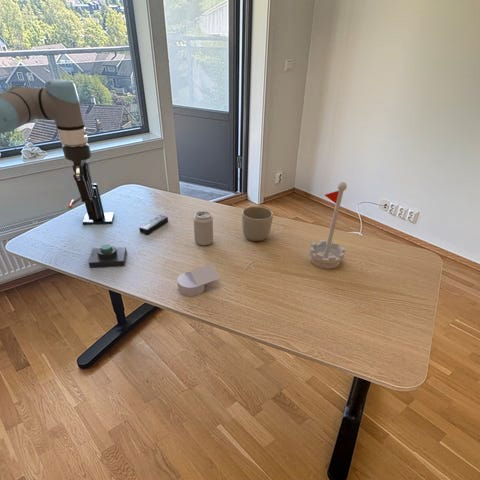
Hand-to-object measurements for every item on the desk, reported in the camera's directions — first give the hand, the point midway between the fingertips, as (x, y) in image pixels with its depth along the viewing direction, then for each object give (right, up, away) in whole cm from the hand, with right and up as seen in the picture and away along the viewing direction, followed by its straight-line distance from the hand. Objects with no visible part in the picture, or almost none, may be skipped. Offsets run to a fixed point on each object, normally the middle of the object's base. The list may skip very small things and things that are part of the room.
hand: (93, 218), depth 117 cm
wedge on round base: (+35, -23, 0) cm, 42 cm away
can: (+35, -3, +23) cm, 42 cm away
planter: (+56, 0, +28) cm, 63 cm away
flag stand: (+83, -12, +16) cm, 85 cm away
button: (+1, -9, +8) cm, 12 cm away
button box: (+1, -12, +10) cm, 16 cm away
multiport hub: (+13, +5, +31) cm, 34 cm away
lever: (-16, +16, +27) cm, 35 cm away
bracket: (-12, +10, +34) cm, 38 cm away
